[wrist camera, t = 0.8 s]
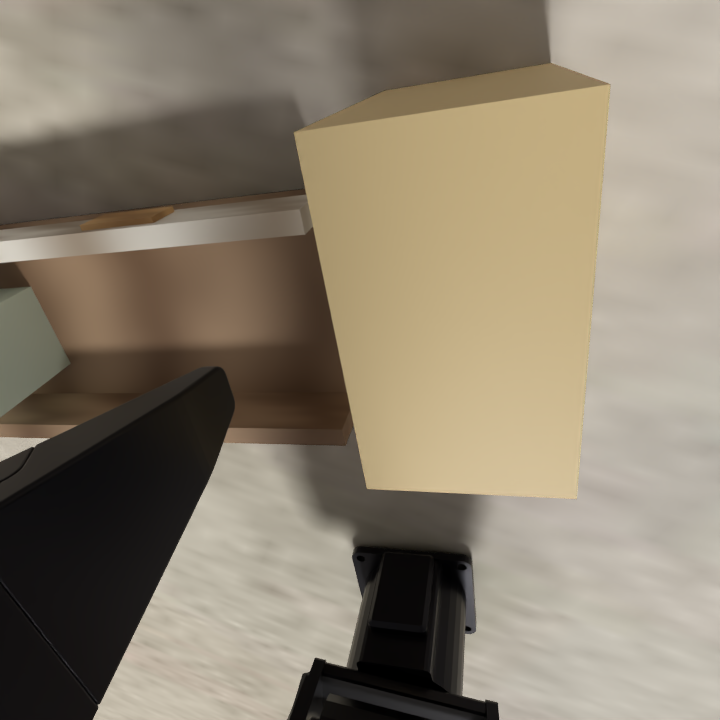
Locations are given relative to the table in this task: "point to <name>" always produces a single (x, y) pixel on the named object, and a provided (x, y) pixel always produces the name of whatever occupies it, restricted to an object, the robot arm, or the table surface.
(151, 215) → the shelf
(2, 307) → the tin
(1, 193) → the table surface
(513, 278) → the carton
